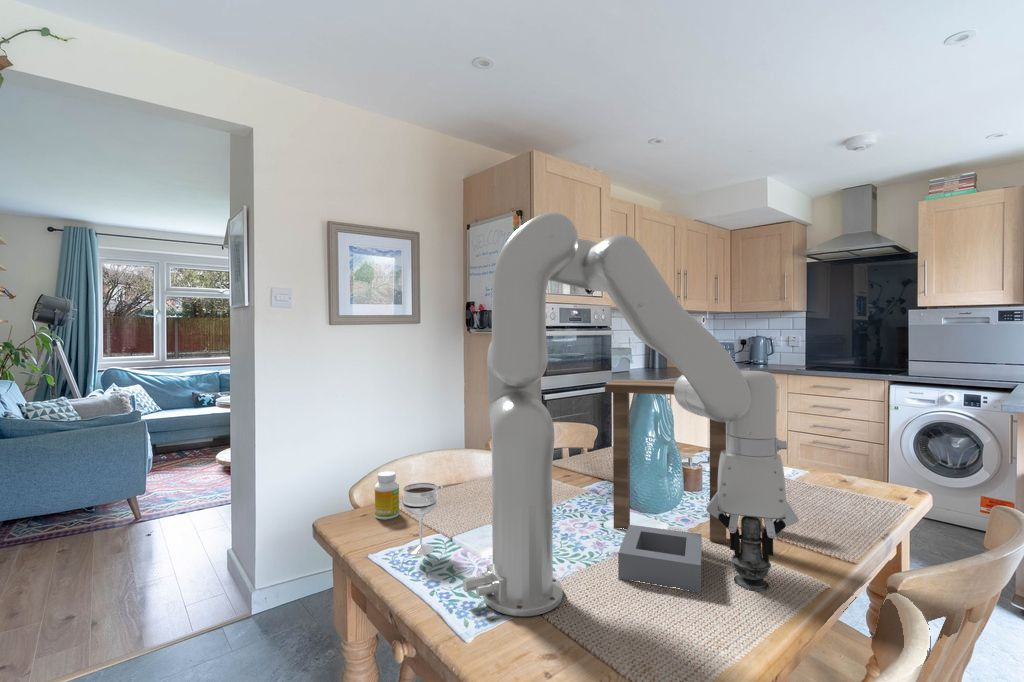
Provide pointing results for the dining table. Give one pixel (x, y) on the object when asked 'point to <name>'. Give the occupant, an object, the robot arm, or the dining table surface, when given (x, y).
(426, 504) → the wineglass
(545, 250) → the robot arm
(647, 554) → the socket block
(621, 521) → the canopy
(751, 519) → the salt shaker
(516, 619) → the dining table surface
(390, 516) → the supplement bottle
